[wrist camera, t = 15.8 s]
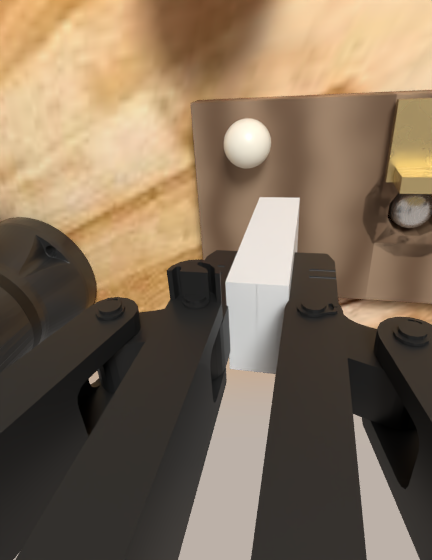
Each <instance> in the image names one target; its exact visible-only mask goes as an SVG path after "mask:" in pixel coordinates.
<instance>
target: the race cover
mask: <svg viewBox="0 0 432 560" xmlns="http://www.w3.org/2000/svg"><path fill="white" fill-rule="evenodd" d="M385 181H386V182H393V184H394V185H395V187H396V189H397V190H398V192H399V194H432V98H407V99H397V102H396V109H395V115H394V122H393V128H392V135H391V141H390V148H389V154H388V161H387V167H386V174H385Z"/></svg>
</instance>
